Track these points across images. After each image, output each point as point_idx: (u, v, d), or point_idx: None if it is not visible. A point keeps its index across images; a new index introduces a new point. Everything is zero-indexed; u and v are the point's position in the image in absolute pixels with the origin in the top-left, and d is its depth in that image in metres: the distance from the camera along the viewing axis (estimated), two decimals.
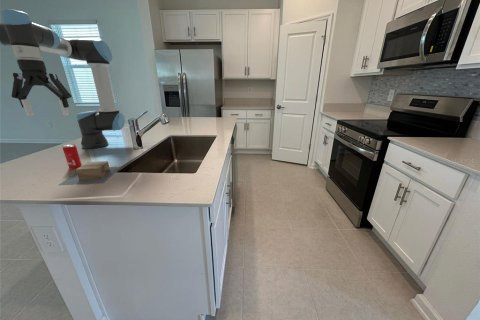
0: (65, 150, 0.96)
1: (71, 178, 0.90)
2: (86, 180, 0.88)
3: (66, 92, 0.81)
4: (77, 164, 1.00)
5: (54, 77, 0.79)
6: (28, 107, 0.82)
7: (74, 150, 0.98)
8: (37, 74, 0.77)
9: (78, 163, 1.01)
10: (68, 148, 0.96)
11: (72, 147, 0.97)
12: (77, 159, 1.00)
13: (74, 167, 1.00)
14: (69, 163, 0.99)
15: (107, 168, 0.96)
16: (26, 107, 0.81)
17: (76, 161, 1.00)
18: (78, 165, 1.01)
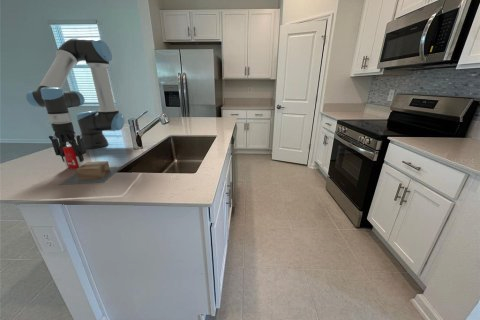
0: (65, 150, 0.96)
1: (71, 178, 0.90)
2: (86, 180, 0.88)
3: (83, 150, 0.99)
4: (77, 164, 1.00)
5: (80, 138, 0.97)
6: None
7: None
8: (67, 132, 0.95)
9: None
10: (68, 148, 0.96)
11: (72, 147, 0.97)
12: None
13: (74, 167, 1.00)
14: (69, 163, 0.99)
15: (107, 168, 0.96)
16: (66, 162, 1.00)
17: (76, 161, 1.00)
18: (78, 165, 1.01)
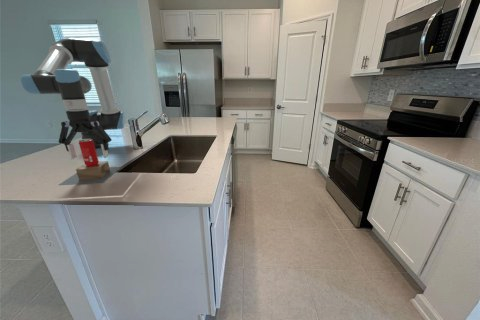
0: (82, 145, 0.86)
1: (71, 178, 0.90)
2: (86, 180, 0.88)
3: (107, 137, 0.88)
4: (94, 160, 0.90)
5: (97, 124, 0.85)
6: (72, 151, 0.88)
7: (91, 145, 0.88)
8: (83, 122, 0.84)
9: (95, 160, 0.90)
10: (85, 142, 0.86)
11: (89, 141, 0.87)
12: (94, 155, 0.90)
13: (91, 164, 0.89)
14: (86, 159, 0.88)
15: (107, 168, 0.96)
16: (71, 151, 0.87)
17: (93, 157, 0.89)
18: (95, 162, 0.90)
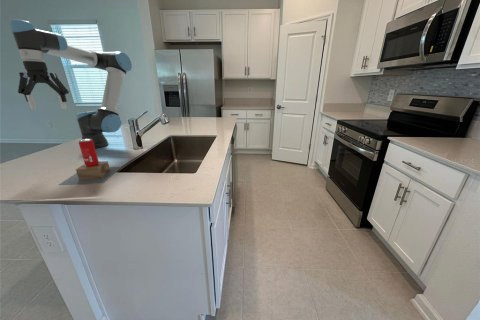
0: (82, 145, 0.86)
1: (71, 178, 0.90)
2: (86, 180, 0.88)
3: (64, 89, 0.96)
4: (94, 160, 0.90)
5: (54, 75, 0.93)
6: (32, 101, 0.96)
7: (91, 145, 0.88)
8: (40, 73, 0.91)
9: (95, 160, 0.90)
10: (85, 143, 0.86)
11: (89, 141, 0.87)
12: (94, 155, 0.90)
13: (91, 164, 0.89)
14: (86, 159, 0.88)
15: (107, 168, 0.96)
16: (30, 101, 0.95)
17: (93, 157, 0.89)
18: (95, 162, 0.90)
